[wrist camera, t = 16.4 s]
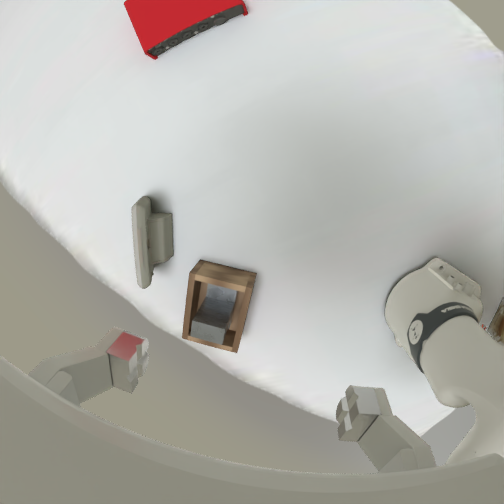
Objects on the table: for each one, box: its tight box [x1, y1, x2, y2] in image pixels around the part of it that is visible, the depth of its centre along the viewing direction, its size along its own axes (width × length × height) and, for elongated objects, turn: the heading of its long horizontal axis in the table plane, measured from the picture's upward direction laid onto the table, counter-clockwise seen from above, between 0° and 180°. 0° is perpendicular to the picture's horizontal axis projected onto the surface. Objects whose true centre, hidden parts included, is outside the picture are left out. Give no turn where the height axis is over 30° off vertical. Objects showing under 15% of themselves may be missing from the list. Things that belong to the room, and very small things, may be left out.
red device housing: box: [124, 0, 248, 60], centre depth 33 cm, size 18×14×5 cm
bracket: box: [190, 283, 238, 345], centre depth 46 cm, size 5×8×10 cm, turn 168°
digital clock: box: [132, 196, 173, 289], centre depth 45 cm, size 14×8×9 cm, turn 166°
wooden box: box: [182, 260, 256, 353], centre depth 49 cm, size 10×13×6 cm
